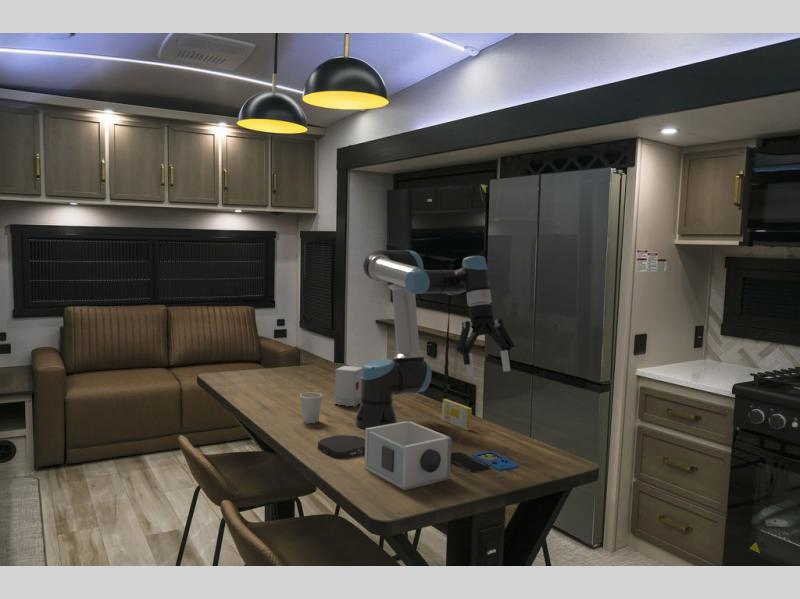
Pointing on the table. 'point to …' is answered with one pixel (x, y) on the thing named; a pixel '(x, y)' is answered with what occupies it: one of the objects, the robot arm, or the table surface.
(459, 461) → the phone
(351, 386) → the supplement box
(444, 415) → the candy box
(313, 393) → the dixie cup
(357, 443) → the media streaming box
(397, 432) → the open box
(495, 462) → the handheld gaming device
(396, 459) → the side door
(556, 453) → the table surface
